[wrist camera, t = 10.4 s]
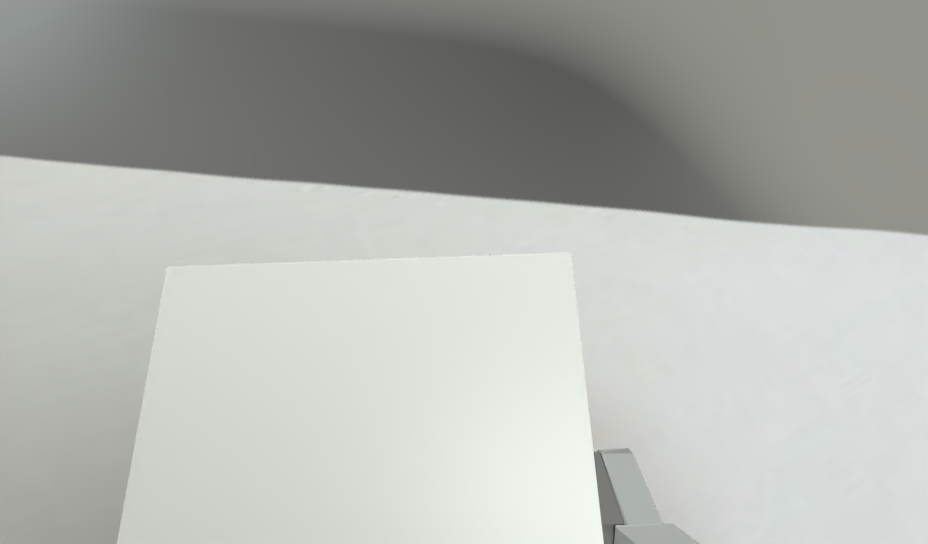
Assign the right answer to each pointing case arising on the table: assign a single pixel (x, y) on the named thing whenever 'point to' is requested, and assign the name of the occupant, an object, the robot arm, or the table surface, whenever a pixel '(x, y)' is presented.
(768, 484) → the table surface
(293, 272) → the white rectangular block
